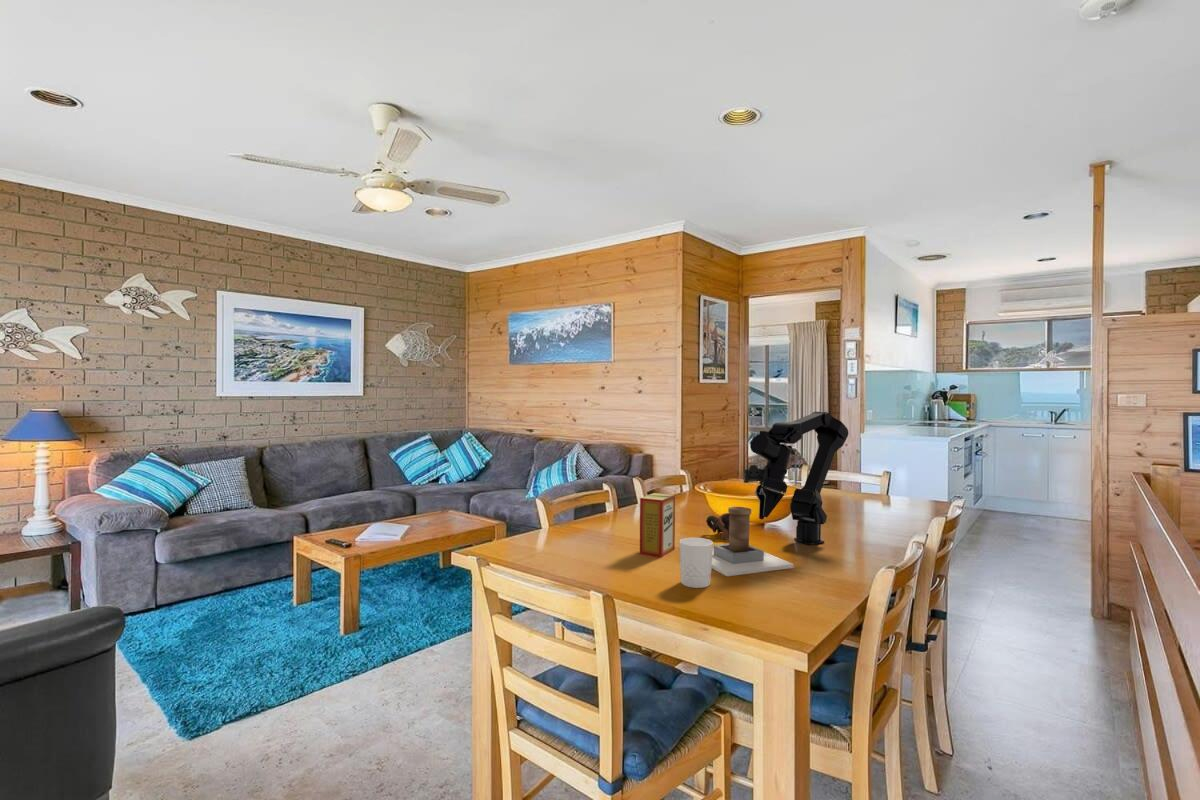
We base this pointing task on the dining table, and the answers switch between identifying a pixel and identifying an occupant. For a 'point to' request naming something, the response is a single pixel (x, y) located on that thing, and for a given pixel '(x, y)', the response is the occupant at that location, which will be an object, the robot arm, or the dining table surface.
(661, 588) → the dining table surface
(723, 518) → the pottery mug
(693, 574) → the white cup
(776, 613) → the dining table surface
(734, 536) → the brown cylinder
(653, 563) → the dining table surface
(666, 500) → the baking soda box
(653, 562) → the dining table surface
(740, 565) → the square socket base
